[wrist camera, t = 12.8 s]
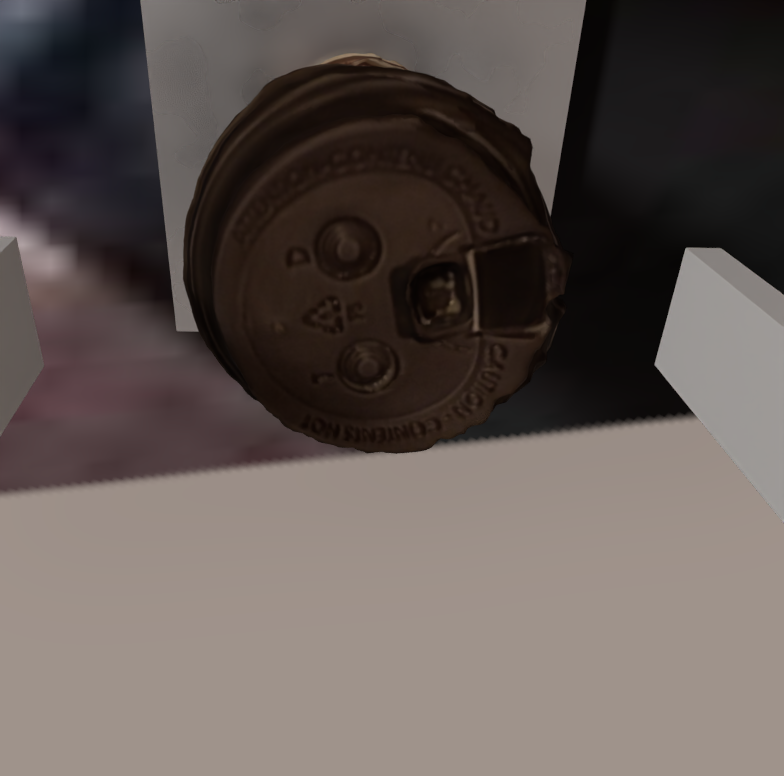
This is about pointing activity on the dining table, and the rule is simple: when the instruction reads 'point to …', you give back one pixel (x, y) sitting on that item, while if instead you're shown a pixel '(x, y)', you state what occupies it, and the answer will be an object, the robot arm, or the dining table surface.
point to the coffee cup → (373, 256)
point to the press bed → (336, 37)
